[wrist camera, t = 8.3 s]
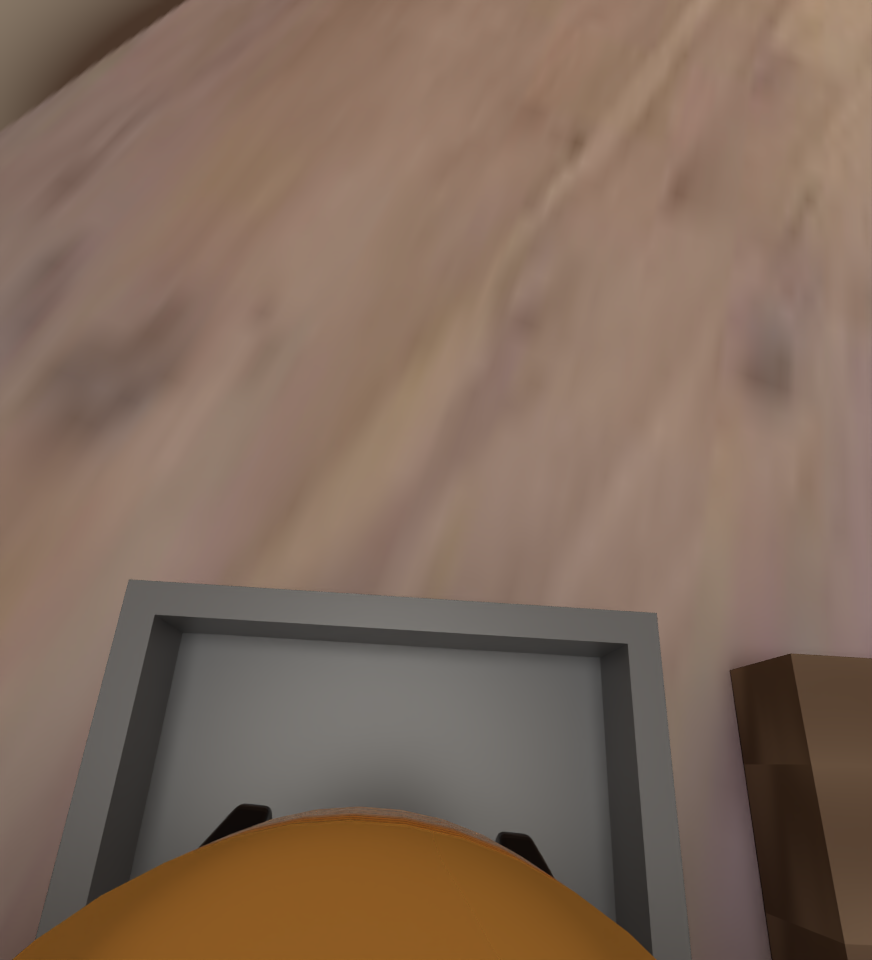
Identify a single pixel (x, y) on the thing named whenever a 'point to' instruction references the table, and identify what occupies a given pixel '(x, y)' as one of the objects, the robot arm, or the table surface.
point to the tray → (382, 735)
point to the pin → (342, 899)
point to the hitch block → (811, 800)
